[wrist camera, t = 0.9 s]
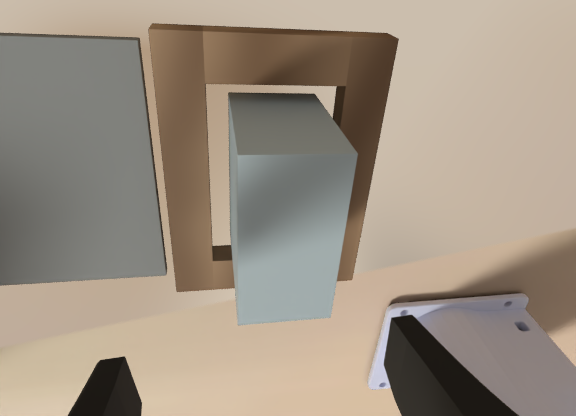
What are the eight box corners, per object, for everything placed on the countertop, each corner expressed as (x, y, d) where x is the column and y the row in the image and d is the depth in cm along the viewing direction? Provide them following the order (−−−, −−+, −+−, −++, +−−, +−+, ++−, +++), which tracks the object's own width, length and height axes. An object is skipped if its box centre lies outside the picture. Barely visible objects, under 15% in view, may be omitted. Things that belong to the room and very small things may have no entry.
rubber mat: (139, 37, 15) (137, 40, 15) (167, 268, 21) (166, 275, 20) (-113, 28, 14) (-123, 31, 13) (-8, 279, 20) (-13, 286, 19)
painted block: (314, 93, 17) (358, 153, 12) (301, 229, 21) (330, 317, 16) (228, 92, 17) (237, 155, 12) (230, 232, 20) (237, 325, 16)
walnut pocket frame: (386, 33, 16) (398, 38, 15) (345, 265, 23) (352, 280, 22) (152, 23, 15) (148, 29, 14) (177, 275, 21) (176, 292, 20)
